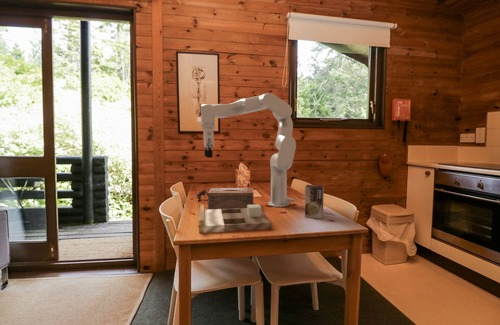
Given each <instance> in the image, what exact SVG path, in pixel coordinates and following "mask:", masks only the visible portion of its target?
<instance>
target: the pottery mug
mask: <svg viewBox="0 0 500 325" xmlns="http://www.w3.org/2000/svg"><path fill="white" fill-rule="evenodd" d="M209 190H210V189H208V190H207V189H206V188H205V189H202V190H201V191H199V192H198V193H197V194H196V199H198V200H201V198H202V196H203V197H205V196H206V197H208V192H209Z"/></svg>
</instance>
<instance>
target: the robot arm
mask: <svg viewBox="0 0 500 325" xmlns="http://www.w3.org/2000/svg"><path fill="white" fill-rule="evenodd" d="M263 110H269V111H271V112H272V115H273V118H275V119H276V121H277V123H278V127H277V128H278V129H277V134H276V137H275V138H276V139H275V148H276V149H277V150H278V151H277V152H275V153H274V154H272V156H271V157H270V159H269V164H270V165H269V166H270V201H268V202H267V204H268V205H269V206H270V207H274V208H282V207H283V208H285V207H287V206H289V205H290V203H289V202H295V198H293V197H292V198H291V197H287V187H288V185H287V180H288V177H287V176H288V173H287V171H288V170H289V169H290V168H291V167H292V165H293V163H294V157H295V154H296V147H297V142H296V139H295V138H294V137H293V130H294V122H293V120H292V117H291V116H292V114H293V108H292V106H291V105H290V104H289V103H287V102H286V101H285V100H283V99H281V98H280V97H279V96H277V95H275V94H273V93H271V92H266V93H263V94H260V95H256V96H251V97H244V98H240V99H239V100H237V101H234V102H231V103H226V104H224V103H217V104H211V103H205V104H204V103H203V104H202V105H201V107H200V119H201V120H200V121H201V122H200V124H201V127H200V129H201V130H203V146H204V157H206V158H207V159H209V158H211V159H213V152H214V151H213V148H214V147H215V134H214V130H215V129H216V125H215V124H216V121H215V120H216V118H217V119H224V118H229V117H233V116H239V115H245V114H249V113H250V114H251V113H253V112H258V111H259V112H260V111H263Z"/></svg>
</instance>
